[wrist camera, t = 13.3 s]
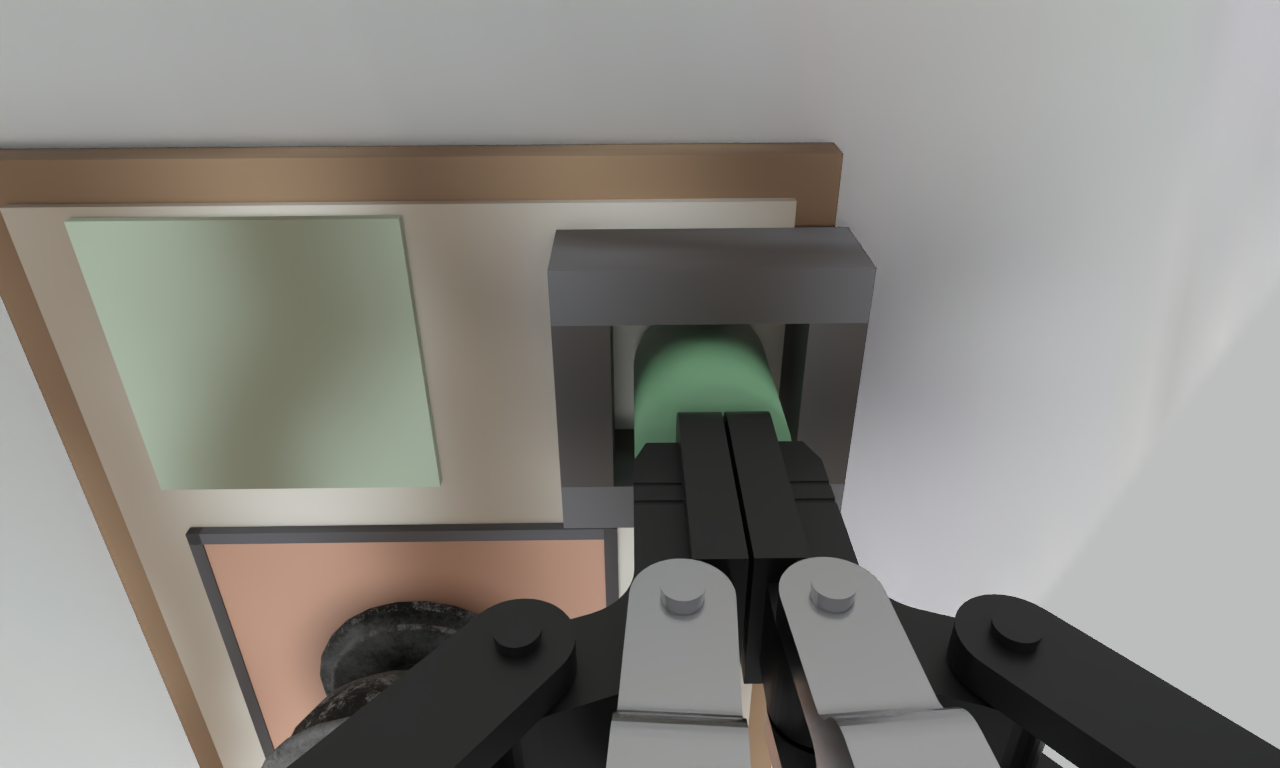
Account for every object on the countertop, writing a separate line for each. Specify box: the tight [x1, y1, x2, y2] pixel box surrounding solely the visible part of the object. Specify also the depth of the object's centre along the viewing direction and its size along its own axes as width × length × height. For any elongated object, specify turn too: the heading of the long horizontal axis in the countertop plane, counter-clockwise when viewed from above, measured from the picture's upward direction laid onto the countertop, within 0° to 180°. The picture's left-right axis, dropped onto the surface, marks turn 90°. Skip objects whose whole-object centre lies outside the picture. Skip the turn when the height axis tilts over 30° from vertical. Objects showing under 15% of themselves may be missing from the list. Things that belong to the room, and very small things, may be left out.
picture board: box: [0, 143, 876, 768], centre depth 19 cm, size 16×18×3 cm
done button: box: [633, 324, 791, 458], centre depth 15 cm, size 3×3×3 cm
